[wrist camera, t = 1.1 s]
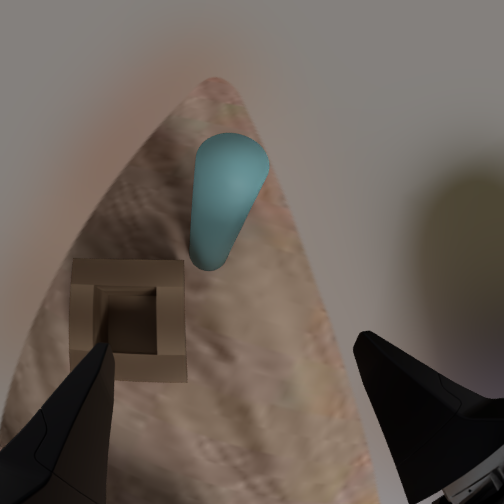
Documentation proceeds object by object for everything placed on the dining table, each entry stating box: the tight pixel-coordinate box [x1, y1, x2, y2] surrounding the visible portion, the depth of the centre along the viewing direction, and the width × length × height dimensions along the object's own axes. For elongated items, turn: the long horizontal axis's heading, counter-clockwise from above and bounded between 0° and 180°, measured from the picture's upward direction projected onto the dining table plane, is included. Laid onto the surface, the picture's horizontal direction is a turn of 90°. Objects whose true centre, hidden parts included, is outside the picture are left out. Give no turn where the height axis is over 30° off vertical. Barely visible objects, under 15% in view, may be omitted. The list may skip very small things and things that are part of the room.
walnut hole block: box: [69, 258, 187, 383], centre depth 19 cm, size 8×8×4 cm
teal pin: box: [189, 133, 269, 271], centre depth 18 cm, size 3×3×13 cm
